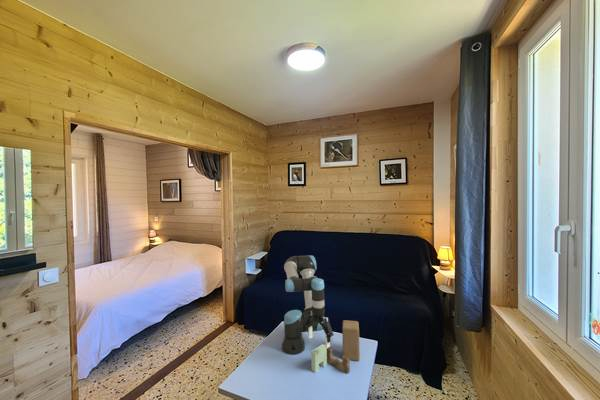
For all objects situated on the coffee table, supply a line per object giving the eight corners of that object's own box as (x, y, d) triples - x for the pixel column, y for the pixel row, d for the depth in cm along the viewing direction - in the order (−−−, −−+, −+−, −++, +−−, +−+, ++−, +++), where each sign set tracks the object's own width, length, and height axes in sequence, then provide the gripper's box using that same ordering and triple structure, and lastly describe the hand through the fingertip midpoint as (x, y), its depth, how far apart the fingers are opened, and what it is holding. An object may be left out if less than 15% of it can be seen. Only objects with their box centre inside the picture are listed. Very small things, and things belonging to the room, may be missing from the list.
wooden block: (359, 361, 149) (359, 328, 149) (342, 359, 151) (342, 327, 151) (359, 351, 159) (358, 320, 159) (343, 350, 161) (342, 319, 161)
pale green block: (315, 372, 141) (315, 353, 141) (311, 370, 143) (311, 351, 143) (326, 364, 147) (326, 346, 147) (323, 362, 150) (322, 343, 150)
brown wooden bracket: (325, 360, 151) (325, 347, 151) (328, 359, 152) (327, 346, 152) (347, 374, 139) (347, 359, 139) (349, 372, 140) (349, 358, 140)
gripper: (298, 302, 151) (299, 336, 151) (330, 315, 133) (331, 354, 133) (307, 298, 156) (308, 332, 156) (339, 310, 138) (340, 348, 138)
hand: (318, 342), depth 145 cm, fingers open, 13 cm apart
